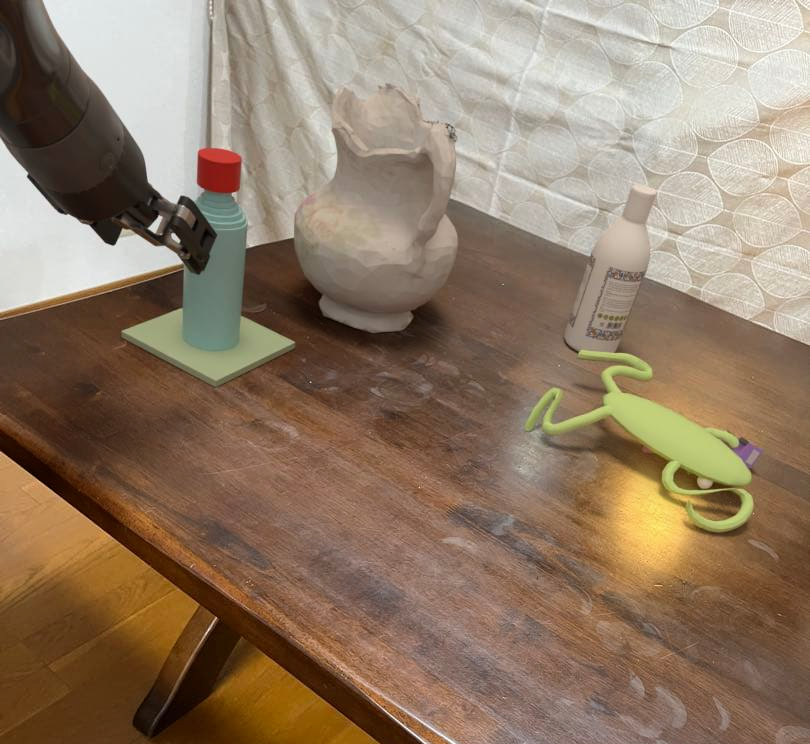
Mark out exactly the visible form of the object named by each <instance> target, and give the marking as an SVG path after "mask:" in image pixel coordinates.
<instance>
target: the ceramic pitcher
mask: <svg viewBox="0 0 810 744" xmlns="http://www.w3.org/2000/svg"><path fill="white" fill-rule="evenodd" d="M384 84H385V86H382V85H377V87H378V90H377V91H375V92H373V93H372V94H370V95H369V96H368V97H366V98H365V99H362V98H359V97H358V95H356V93H355V92H354V90H352V89H350V88H347V87H345V86H344V85H340V86H339V88H338V90H337V91H336V93H335V95H334V97H333V101H332V104H331V109H330V111H331V133H332V135H333V136H334V142H335V149H336V158H337V159H336V166H335V172H334V174H333V177H332V179H331V180H330V181H329V182H328V183H326V184H325V185H323V186H321V187H319V188H317V189H315V190H314V191H312V192H310V193H309V194H307V196H306V197H305V198H304V199H303V200H302V201H301V202H300V203H299V205H298V207H297V209H296V212H295V213H294V219H293V221H294V222H293V243H294V251H295V255H296V258H297V262H298V264H299V267H300V268H301V271H302V273H303V275H304V276H305V278H306V279H307V280H308V281H309V282H310V284H311V285H312V286H313V287H314V289H315V290H316V291H318V292H319V293H320V294H321V295H322V296H321V298H320V299H319V301H318V302H317V303H318V306H319V309H320V311H321V313H322V316H323V317H325V318H328V319H331V320H334V321H337V322H338V323H341V324H343V325H346V326H348V327H350V328H351V327H352V328H354V329H358V330H360V331H364V332H368V333H371V334H376V333H377V334H378V333H388V332H401V331H404V330H405V329H406V328H407V327H408V326H409V325H410V324H411V322H412V321H413V319H414V315H413V313H412V312H411V311H414V310H416V309H417V308H418V307H420V306H423V305H425V304H426V303H428V302H429V301H430V300H432V299H433V298H434V296H436V295H437V294H438V292H440V291H441V290H442V288H444V286H445V284H446V283H447V281H448V279H449V277H450V275H451V272H452V270H453V268H454V266H455V262H456V259H457V252H458V247H459V238H458V237H459V236H458V233H457V230H456V227H455V226H454V224H453V222H452V221H451V219H450V218H449V216H448V215H447V214H446V210H447V209H448V208H447V207H448V205H449V202H450V198H451V194H452V191H453V187H454V182H455V179H456V172H457V171H456V170H457V153H456V143H457V142H458V141H459V139H458V136H457V135H456V127H455V126H453V125H452V124H450V123H448V122H439V120H434V121H432V120H425V118H424V116H423V113H422V110H421V105H420V100H421V98H419V97H417V98H414V96H412V95H411V93H408V92H407V91H405V90H404V89H403V87H402V86H397V85H394V84H391V83H386V82H385V83H384Z"/></svg>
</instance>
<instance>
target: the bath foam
mask: <svg viewBox="0 0 810 744" xmlns="http://www.w3.org/2000/svg"><path fill="white" fill-rule="evenodd" d="M656 197H657V191H656V189H654V188H652V187H650V186H647V185H643V184H633V185H632V186H631V188H630V190H629V193H628V197H627V199H626V203H625V205H624V208H623V211H622V214H621V216H620V217H618V219H617V220H615V221H614V222H612V224H610V226H608V227H607V228H606V229H605V230H604V231H603V232H602V233H601V235H600V236H599V237H598V239H597V240H596V241H595V243H594V245H593V248H592V250H591V252H590V256H589V259H588V261H587V265H586V267H585V271H584V274H583V277H582V279H581V281H580V282H581V283H580V286H579V289H578V292H577V294H576V297H575V301H574V304H573V307H572V309H571V312H570V315H569V319H568V322H567V326H566V328H565V332H564V337H563V338H564V341H565V343H566V344H567V345H568V346H569V347H570V348H571V349H573V350H574V351H576V352H577V353H579V352H580V351H581V350H588V351H596V352H610V353H616V351H617V350H618V346H619V344H620V342H621V339H622V336H623V333H624V332H625V330H626V326H627V324H628V320H629V317H630V315H631V312H632V310H633V307H634V305H635V302H636V300H637V297H638V294H639V291H640V289H641V287H642V284H643V282H644V279H645V276H646V273H647V271H648V266H649V263H650V258H651V242H650V237H649V232H648V228H647V224H646V223H647V220H648V218H649V215H650V213H651V210H652V207H653V205H654V202H655V199H656Z"/></svg>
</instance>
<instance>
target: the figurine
mask: <svg viewBox="0 0 810 744" xmlns="http://www.w3.org/2000/svg"><path fill="white" fill-rule="evenodd" d="M576 359H577V360H583V361H590V362H591V361H593V362H607V363H620V364H625V365H611V366H609V367H606V368H605V369H604V370H603V371H602V372H601V373H600V381H601V383H602V386H603V387H604V389H605V390H606V392H607V393H605V394H603V395H602V405H603V406H599V407H597V408H596V409H593V410H592V411H589V412H586V413H584V414H581V415H577V416H575V417H572V418H568V419H567V420H564V421H561V422H557V423H552V420H553V417H554V414H555V412H556V411H557V409H558V408H559V406H560V404H561V403H562V400H563V397H564V390H562V389H560V388H557V387H555V386H554V387H552V388H551V389H549V390H548V391H546V393H545V394H544V395H542V396H541V398H540V399H539V400H538V402H537V403H536V404H535V406H534V407H533V409H532V411H531V413H530V415H529V417H528V418H527V420H526V423H525V425H524V429H525V431H526V432H530V431H532V430H533V428H534V427H535V425H536V422H537V421H538V420H539V418H540V416H541V415H542V413H543V411H544V410H545V409H546V408H547V407H548V406H549V407H548V408H547V410H546V412H545V413H544V415H543V417H542V420H541V421H542V423H541V430H542V432H543V433H546V434H548V435H550V436H551V437H552V436H559V435H563V434H565V433H568V432H571V431H574V430H576V429H580V428H582V427H586V426H589V425H592V424H595V423H596V422H599V421H601V420H603V419H605V418H608V417H609V418H611V419H612V420H613V421H614V422H615V423H616V424H617V425H618V426H619V427H621V429H623V431H625V433H627V434H628V435H629V436H631V437H632V438H633V439H635V440H636V441H637V442H639V443H640V444H641V445H643V446H642V448H641V450H642V451H643V453H652V454H653V453H654V454H656V455H658V456H660V457H661V458H663V459H665V460H666V461H668V462H667V464H666V465H665V466H664V469H663V470H662V471H661V479H660V480H661V483H662V485H663V487H664V489H665V490H667V491H669V492H671V493H673V494H676V495H683V496H699V495H707V494H712V493H716V492H721V491H727V492H733V493H734V494H736V495H737V496H738V497H739V499H740V501H741V505H740V508H739V510H738V511H737V513H736V514H735V515H732V516H731V517H729V518H725V519H723V520H711V519H707V518H705V517H703V516H701V514H699V513H698V512H697V511H696V510H694V508H693V505H692V504H693V503H692V502H691V500H690V499H689V500H688V501H686V504H685V512H686V514H687V517H688V519H689V521H690V522H691V523H693V525H695V526H696V527H698V528H700V529H702V530H704V531H706V532H709V533H710V532H711V533H715V534H718V533H719V534H720V533H726V532H730V531H733V530H737V529H738V528H741V526H743V525H745V524H746V523H747V521H748V520H749V519H750V518H751V516H752V514H753V511H754V508H755V503H754V499H753V495H752V494H750V493H749V492H748V491H746V490H745V489H744V488H745V487H746V486H748V485H750V484H752V483H753V477H752V472H751V470H750V469H752V467H754V465H755V463H756V462H757V460H758V459H759V458H760V457H761V455H762V454H763V452H764V451H763V450H762V449H760V448H759V447H757V446H755V444H752V443H751V442H750V441H749V440H748V439H746V438H744V437H742V436H740V437H738V436H736V435H735V434H734V433H732V432H731V431H729V430H722V429H717V428H714V427H711V426H707V427H704V428H703V426H701V425H699V424H697V423H696V422H695V421H692V420H690V419H689V418H687V417H685V416H684V415H682V414H680V413H678V412H676V411H675V410H673V409H670V408H668V407H666V406H665V405H664V406H663V405H662V404H659V403H657V402H655V401H653V400H651V399H647V398H644V397H641V396H638V395H634V394H632V393H628V392H622V391H621V390H620V388H619V387H618V385H617V383H616V382H615V381H614V379H613V378H614V377H624V378H625V377H626V378H630V379H632V380H635V381H638V382H641V383H647V382H650V381H651V380H652V379H653V374H654V372H653V368H652V367H651V366H650V365H649V364H648V363H647V362H646V361H644V360H642V359H641V358H639V357H638V356H635V355H633V354H630V353H628V352H627V353H625V352H615V353H610V352H596V351H588V350H581V351H580V352H577V356H576ZM627 365H628V366H627ZM551 402H552V403H551ZM549 404H550V405H549ZM680 468H681V469H683V470H685V472H686V475H687V477H688V476H690V475H692V474H694V475H695V476H697V479H696V483H697V486H698V488H700V490H699V489H684V488H681V487H679V486H678V485H677V484H676V482H675V481H674V478H675V477H674V476H675V473H676V472H677V471H678V470H679V469H680ZM714 482H715V483H718V484H721V485H724V486H727V488H716V489H710V488H711V487H712V486H713V484H714ZM728 486H729V488H728ZM737 487H741V488H737Z"/></svg>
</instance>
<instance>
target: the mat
mask: <svg viewBox="0 0 810 744" xmlns="http://www.w3.org/2000/svg"><path fill="white" fill-rule="evenodd" d="M182 318H183V307H181V308H178V309H175V310H172V311H171V312H168V313H165V314H163V315H160V316H157V317H153V318H151V319H149V320H146V321H143V322H141V323H139V324H136V325H134V326H130V327H128V328H126V329H122V330H121V338H122V339H123V340H126V341H127V342H129V343H131V344H133V345H135V346H137V347H138V348H141V349H143V350H144V351H146V352H148V353H150V354H152V355H154V356H156V357H158V358H159V359H161V360H162V361H165V362H167V363H169V364H171V365H172V366H174V367H176V368H178V369H180V370H182V371H184V372H185V373H187V374H189V375H191V376H193V377H195V378H197V379H199V380H201V381H203V382H205V383H207V384H208V385H210V386H212V387H214V388H218V387H219V386H221V385H223V384H226V383H227V382H230V381H232V380H234V379H236V378H238V377H240V376H241V375H244V374H246V373H248V372H250V371H252V370H254V369H256V368H258V367H260V366H262V365H264V364H266V363H268V362H270V361H273V360H274V359H277V358H279V357H280V356H282V355H284V354H287V353H288V352H291V351H292V350H294V349H296V341H294V340H292V339H291V338H288V337H286V336H284V335H282V334H280V333H278V332H276V331H274V330H272V329H270V328H267V327H265V326H264V325H261V324H260V323H257V322H255V321H254V320H251V319H249V318H247V317H245V316H242V315H241V322H240V335H239V343H238V344H237V345H236V346H235V347H233V348H231V349H228V350H224V351H208V350H202V349H199V348H196V347H193V346H191V345H189V344H188V343H187V342H185V340H184V339H183V337H182Z"/></svg>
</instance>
